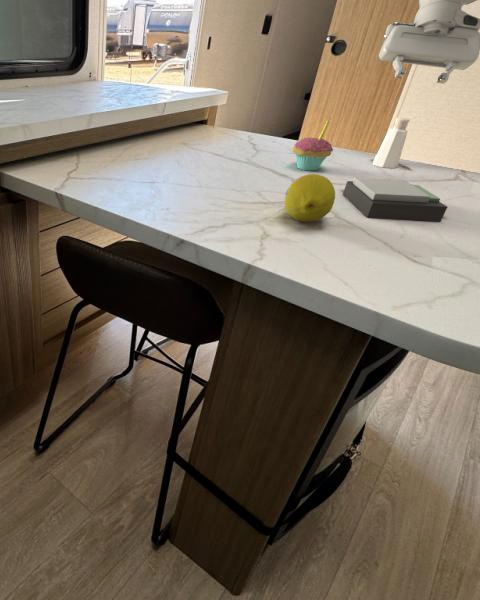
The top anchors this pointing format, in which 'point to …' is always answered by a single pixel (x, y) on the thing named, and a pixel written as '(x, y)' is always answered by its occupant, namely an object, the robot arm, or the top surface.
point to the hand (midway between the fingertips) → (420, 79)
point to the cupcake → (312, 151)
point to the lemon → (309, 198)
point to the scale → (393, 199)
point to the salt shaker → (392, 145)
